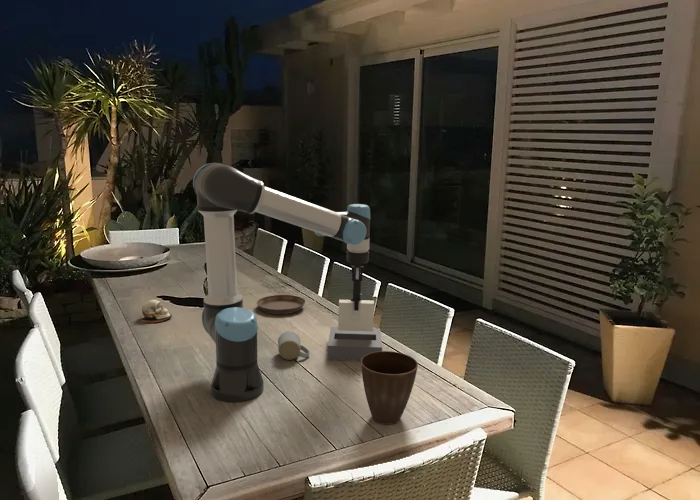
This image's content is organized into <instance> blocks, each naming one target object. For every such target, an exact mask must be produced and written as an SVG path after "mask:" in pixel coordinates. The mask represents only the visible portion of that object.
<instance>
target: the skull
mask: <svg viewBox="0 0 700 500" xmlns="http://www.w3.org/2000/svg"><path fill="white" fill-rule="evenodd" d="M141 312H142V314H143V316H144V317H143V318H142V319H141V320H142V321H140V322H142V323H145V324H146V323H147V324H151V323H158V322H164V321H166V320H168V319H170V318H171V317H172V314H171V313H170V312H169V310H168V309H167V308H166V307H165V306H164V305H163V304H162V303H161V301H160V300H158V299H150V300H148V301H146V302H145V303H144V304H143V305H142V308H141Z"/></svg>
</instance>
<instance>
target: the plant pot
mask: <svg viewBox="0 0 700 500" xmlns="http://www.w3.org/2000/svg"><path fill="white" fill-rule="evenodd" d="M418 364H419V363H418V361H417V360H416V359H415V358H414V357H412V356H411V355H408V354H406V353H403V352H397V351H392V350H382V351H378V352H372V353H369V354H367V355H365V356H363V357H362V359H361V361H360V367H361V375H362V377H361V378H362V382H363V387H364V388H363V389H364V393H365V398H366V402H367V405H368V408H369V411H370V415H371V417H372V419H373V421H374V422H376V423H379V424H381V425H394V424H397V423H398V422H399V421H400V419H401V418H402V416H403V414H404V411H405V409H406V407H407V405H408V402H409V399H410V396H411V393H412V391H413V387H414V385H415V380H416V376H417V373H418V367H419V365H418Z"/></svg>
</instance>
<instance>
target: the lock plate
mask: <svg viewBox="0 0 700 500" xmlns="http://www.w3.org/2000/svg"><path fill="white" fill-rule="evenodd" d="M381 333H382V332H381V328H379V327H378V328H377V327H375V328H374V327H373V331H340V330H338V326H330V329H329V336H328V343H327V361H351V362H352V361H354V362H355V361H357V362H361V359H362V357H363V356H365V355H367V354H369V353H372V352H378V351H383V343H382V334H381Z"/></svg>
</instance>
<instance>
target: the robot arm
mask: <svg viewBox="0 0 700 500" xmlns="http://www.w3.org/2000/svg"><path fill="white" fill-rule="evenodd" d="M192 185H193V189H194V190H193V191H194V192H195V194H196V201H197V203H196V204H197V211H198V213H200V214H201V215H202V216H203V224H204V225H203V226H204V227H203V228H204V244H205V259H206V275H207V277H206V278H207V293H208V294H207V295H206V296H205V297H204V298H203V309H202V313H201V323H202V326H203V329H204V330H205V332H206V333H207V334H208V335H209V336H210V339H212V341H213V342H214V344H215V359H216V360H215V362H216V363H215V364H216V367H215V368H214V369H215V370H214V373H213V376H212V378H211V383H210V394H211V396H212V397H213V398H215V399H217V400H219V401H223V402H229V403H230V402H231V403H235V402H236V403H238V402H245V401H246V402H247V401H250V400H252V399H256V398H257V397H259V396H260V395H261V394H263V392H264V388H265V387H264V379H263V375H262V373H261V370H260V368H259V364H258V329H259V326H258V325H259V324H258V319H257V315H256V314H255V313H254V311H252V310H250V309H249V308H244V300H243V299H244V298H243V295H242V294H240V292H238V283H237V282H238V280H237V279H238V278H237V263H236V262H237V261H236V257H237V256H236V243H235V238H236V237H235V218H234V215H235V214H236V213H237V212H243V213H247V214H249V215H251V214H254V213H258V214H261V215H264V216H267V217H270V218H273V219H277V220H279V221H282V222H285V223H288V224H291V225H293V226H297V227H300V228H303V229H305V230H306V229H307V230H309V231H311V232H314V234H315V235H316V236H318V237H331V238H332V239H335V240H337V241H341V242H344V243H345V244H346V249H347V251H346V262H347V263H349V264H353V265H351V280H352V282H353V287H352V288H353V289H352V298H350V300H351V301H353V304H352V319H360V303H361V300H362V298H361V297H363V293H361V289H362V281H363V273H364V266H363V265H364V264H368V263H369V261H370V251H369V250H370V239H371V238H370V231H371V230H370V229H371V208H370V206H369V205H367V204H364V203H362V204H361V203H353V204H352V203H351V204H349V205H348V206H347V208H346V209H347V210H345V211H334V210H331V209H328V208H326V207H323V206H320V205H317V204H314V203H311V202H308V201H306V200H303V199H301V198H298V197H296V196H292V195H289V194H287V193H284V192H282V191H279V190H276V189H273V188H271V187H267V186H265V185H264V182H263V181H262V180H259V179H256V178H255V177H251V176H250V175H248V174H245V173H244V172H242V171H240V170H238V169H237V168H234V167H233V166H230V165H227V164H224V163H222V162H210V163H206V164H204V165H202V166H201V167H199V168H198V169H197V170H196V172H195V174H194V176H193V180H192ZM362 264H363V265H362Z"/></svg>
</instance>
